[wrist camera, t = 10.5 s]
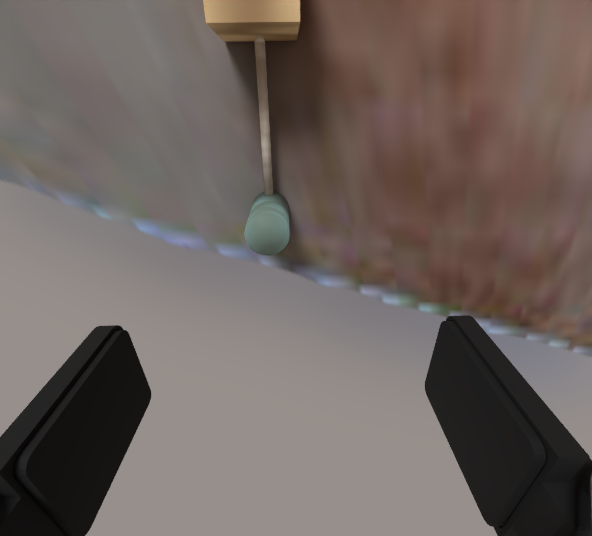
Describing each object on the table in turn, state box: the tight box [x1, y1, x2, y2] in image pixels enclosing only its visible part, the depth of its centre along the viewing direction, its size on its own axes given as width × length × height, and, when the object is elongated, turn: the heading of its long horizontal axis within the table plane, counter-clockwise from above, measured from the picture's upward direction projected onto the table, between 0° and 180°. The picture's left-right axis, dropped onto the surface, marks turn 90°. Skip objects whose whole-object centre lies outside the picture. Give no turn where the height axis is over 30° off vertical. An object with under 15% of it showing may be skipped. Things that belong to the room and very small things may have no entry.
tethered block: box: [203, 0, 300, 255], centre depth 20 cm, size 5×19×6 cm, turn 1°
